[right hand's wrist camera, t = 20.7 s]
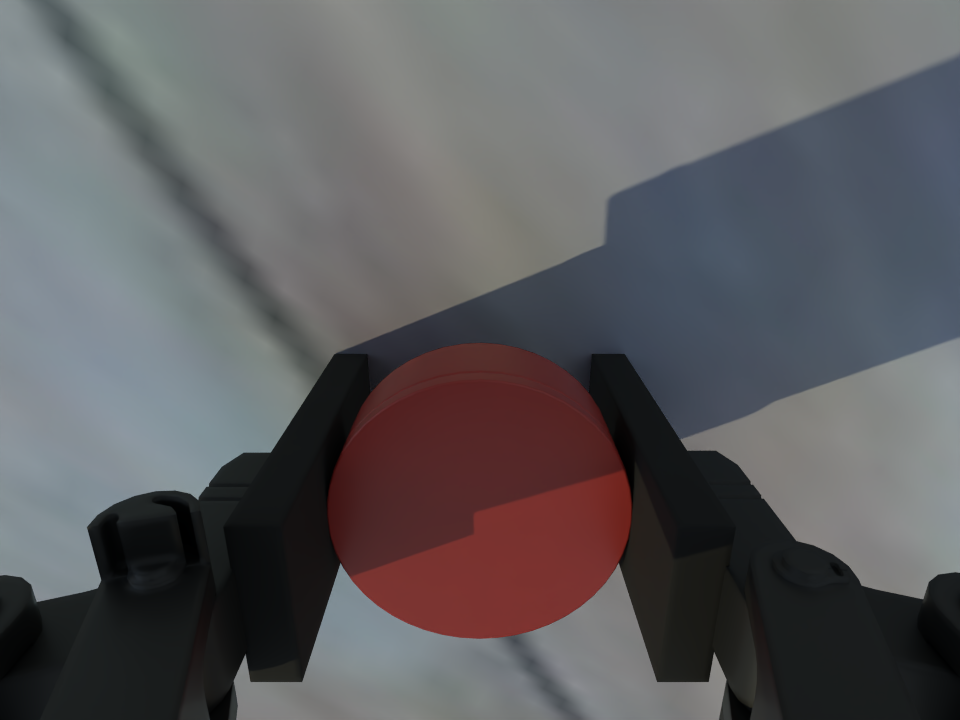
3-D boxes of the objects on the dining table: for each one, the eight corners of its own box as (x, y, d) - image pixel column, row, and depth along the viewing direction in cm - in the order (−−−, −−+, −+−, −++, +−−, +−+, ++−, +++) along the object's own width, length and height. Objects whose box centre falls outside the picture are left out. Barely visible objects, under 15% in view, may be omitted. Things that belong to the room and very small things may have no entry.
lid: (666, 445, 12) (697, 498, 10) (500, 612, 13) (503, 681, 12) (453, 285, 11) (449, 315, 9) (297, 486, 12) (267, 543, 11)
